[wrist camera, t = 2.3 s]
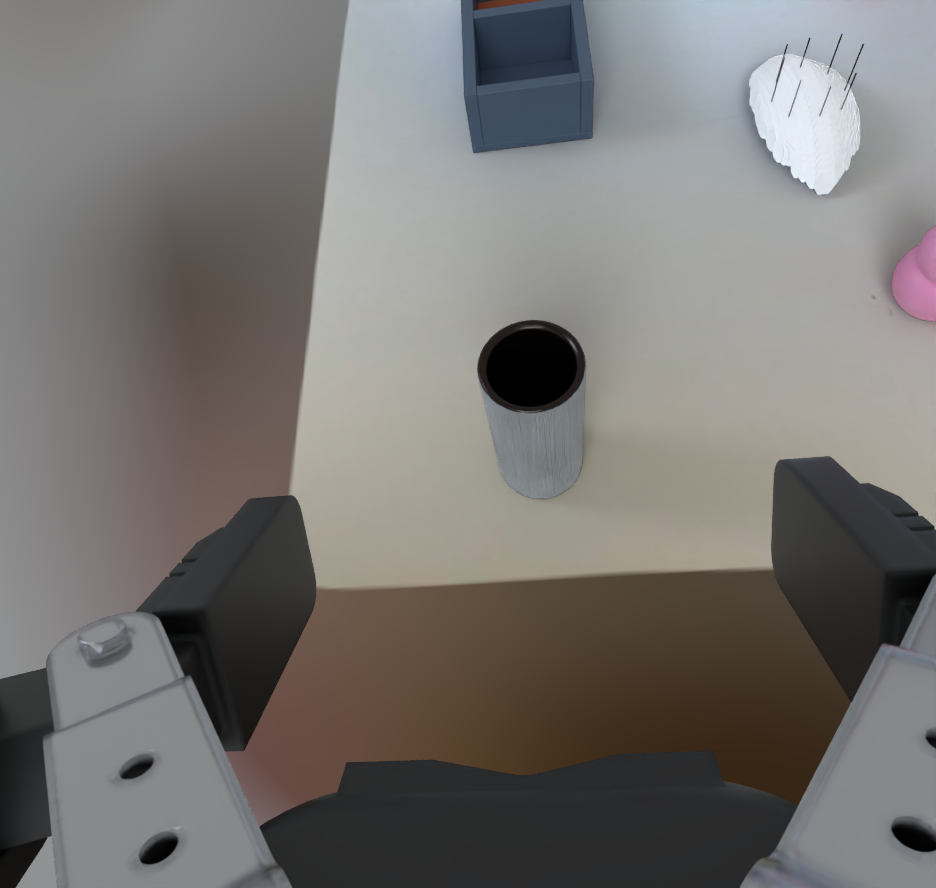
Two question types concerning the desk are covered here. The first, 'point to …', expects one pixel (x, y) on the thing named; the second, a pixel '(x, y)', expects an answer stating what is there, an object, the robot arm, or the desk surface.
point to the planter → (535, 405)
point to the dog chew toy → (918, 279)
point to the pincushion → (806, 117)
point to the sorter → (526, 72)
